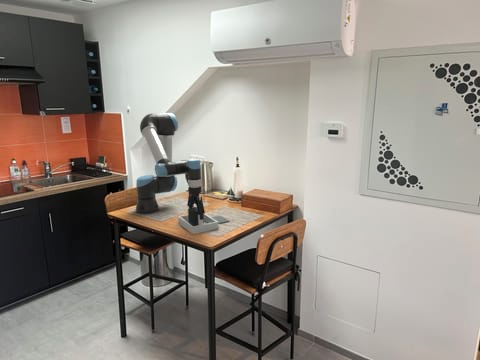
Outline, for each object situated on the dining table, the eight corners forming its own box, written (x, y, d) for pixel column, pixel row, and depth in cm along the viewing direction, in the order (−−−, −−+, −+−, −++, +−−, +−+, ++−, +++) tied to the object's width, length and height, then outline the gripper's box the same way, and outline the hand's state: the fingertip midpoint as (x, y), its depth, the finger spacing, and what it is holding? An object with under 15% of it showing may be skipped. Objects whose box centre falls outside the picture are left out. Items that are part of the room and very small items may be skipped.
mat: (206, 219, 215) (206, 218, 215) (220, 216, 220) (220, 215, 220) (214, 224, 205) (214, 223, 205) (229, 221, 210) (229, 220, 210)
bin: (178, 222, 209) (178, 216, 208) (202, 218, 217) (202, 211, 216) (192, 234, 191) (192, 227, 190) (218, 228, 198) (218, 221, 198)
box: (204, 226, 203) (203, 208, 200) (197, 228, 199) (196, 211, 196) (195, 223, 208) (195, 206, 206) (188, 225, 204) (187, 208, 202)
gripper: (180, 183, 207) (182, 216, 211) (197, 191, 186) (199, 229, 190) (192, 181, 210) (193, 214, 215) (210, 189, 189) (211, 226, 194)
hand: (196, 221), depth 203 cm, fingers open, 13 cm apart
